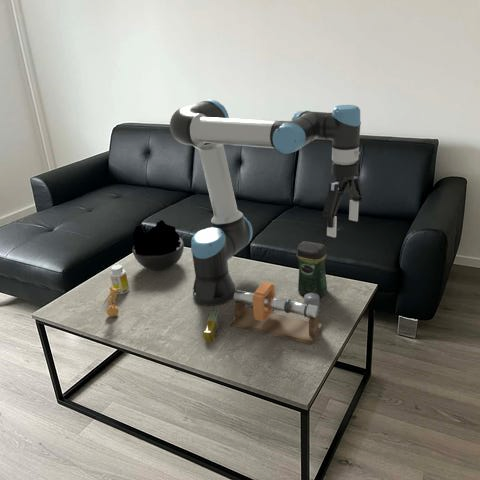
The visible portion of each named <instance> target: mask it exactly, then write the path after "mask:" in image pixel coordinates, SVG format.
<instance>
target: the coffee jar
mask: <svg viewBox="0 0 480 480" xmlns="http://www.w3.org/2000/svg"><path fill="white" fill-rule="evenodd" d="M327 255H328V254H327V247H326V245H325V244H322V243H317V242H312V241H306V240H303V241H302V242H300V243H299V244H298V246H297V250H296V258H297V261H298V283H297V292H298V293H299V294H301V295H304V296H305V295H306V294H307V293H316V294H318V295H319V298H320V297H322V296H324V295H325V294H326V292H327V290H328V285H327V284H328V283H327V275H326V266H325V265H326V264H325V263H326V258H327Z"/></svg>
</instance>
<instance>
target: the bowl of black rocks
mask: <svg viewBox="0 0 480 480" xmlns="http://www.w3.org/2000/svg"><path fill="white" fill-rule="evenodd" d="M176 230H177V228H176V227H175V226H173V225H170V224H167V223H166V222H165V221H164V220H162V219H160V220H159V221H158V222H156V224H155V226H153V227H152V228H150V229H149V230H148V231H147V232H145V233H144V232H142V231H141V226H140V225H136V226H135V228H134V232H133V233H132V238H133V246H132V253H133V256H134V258H135V260H136V261H137V263H139V265H141V266H142V267H144V268H145V269H147V270H151V271H153V272H154V271H155V272H160V271H161V272H162V271H166V270H169V269H170V268H172V267H173V266H175V265H176V264H177V263H179V262H178V261H180V259H181V258H182V255H183V252H184V247H185V244H184V240H183V238H181V237H180V234H179V232H177V231H176Z"/></svg>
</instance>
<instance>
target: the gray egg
mask: <svg viewBox="0 0 480 480" xmlns="http://www.w3.org/2000/svg"><path fill="white" fill-rule="evenodd" d="M303 301H304V302H303V303H305V304H307V303H309V304H310V305H315V306H318V313H319V314H320V297H319V295H318V294H316V293H307V294H306V295H304V296H303Z"/></svg>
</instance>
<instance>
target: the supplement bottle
mask: <svg viewBox="0 0 480 480" xmlns="http://www.w3.org/2000/svg"><path fill="white" fill-rule="evenodd" d="M110 271H111V272H110V274H109V276H110V281H111V284H112V287H113V288H115V289H118V288H121V293H120V290H117V294H116V295H124V294H126V293H128V292H129V291H130V286H129V280H128V277H127V271H126V270H125V269H124V268H123V265H122V264H114V265H112V266H111V268H110Z"/></svg>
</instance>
